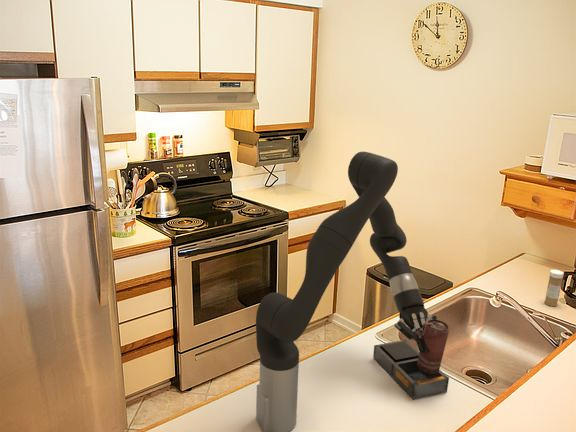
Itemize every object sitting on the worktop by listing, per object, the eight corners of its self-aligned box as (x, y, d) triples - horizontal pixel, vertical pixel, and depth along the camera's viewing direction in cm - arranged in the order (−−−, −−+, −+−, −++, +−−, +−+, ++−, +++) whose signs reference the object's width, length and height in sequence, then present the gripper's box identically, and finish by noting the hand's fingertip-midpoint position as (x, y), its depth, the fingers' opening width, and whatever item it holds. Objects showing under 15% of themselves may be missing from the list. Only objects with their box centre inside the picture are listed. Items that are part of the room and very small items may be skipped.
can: (412, 361, 143) (422, 318, 139) (433, 362, 144) (444, 319, 139) (420, 374, 138) (430, 330, 133) (442, 375, 138) (453, 331, 134)
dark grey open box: (412, 400, 135) (414, 383, 133) (372, 358, 153) (373, 343, 152) (447, 392, 138) (449, 376, 137) (404, 352, 157) (405, 338, 156)
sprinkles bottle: (547, 300, 198) (553, 268, 194) (559, 304, 194) (566, 272, 191) (542, 303, 195) (548, 270, 191) (554, 307, 191) (560, 274, 188)
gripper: (391, 290, 139) (412, 353, 131) (432, 285, 143) (454, 345, 136) (379, 300, 145) (399, 360, 137) (419, 294, 149) (440, 352, 142)
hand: (426, 353), depth 137 cm, fingers closed
